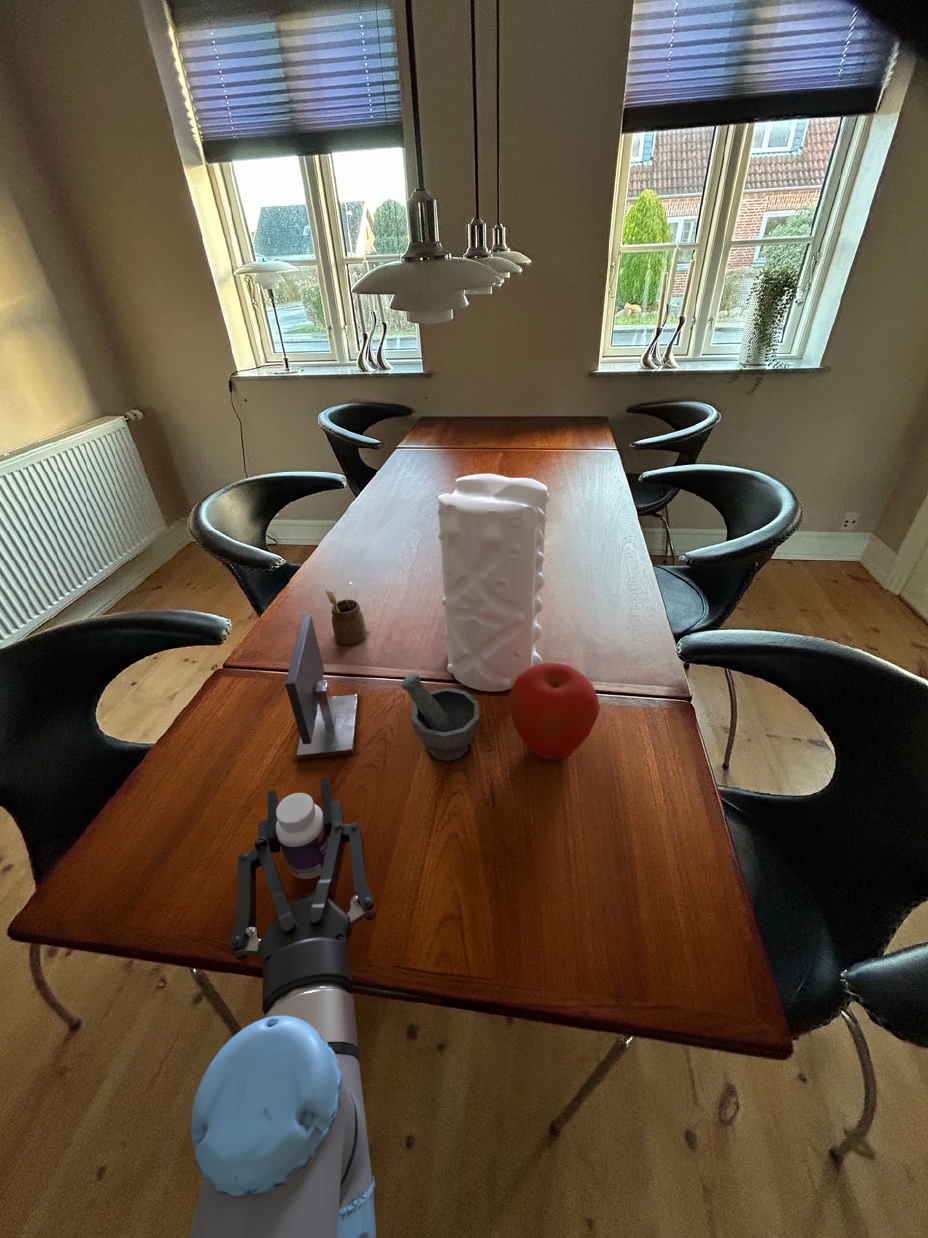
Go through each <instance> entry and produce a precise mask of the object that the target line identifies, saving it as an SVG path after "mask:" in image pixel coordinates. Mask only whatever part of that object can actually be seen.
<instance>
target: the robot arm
mask: <svg viewBox="0 0 928 1238" xmlns="http://www.w3.org/2000/svg"><path fill="white" fill-rule="evenodd" d="M320 787H321V798H322V811H323V814H324V824H325V827H326V831H327V834H328V837H329V841H328V845H327V850H326V854H325V859H324V863H323V868H322V872H321V875H320V877H319V880H318V881H317V883H316V887H315V892H314V893H310V894H308V895H306V896H304V897H303V898H293V899H290V900H289V899H288V896H287V893H286V890H285V888H284V884H283V882H282V878H281V876H280V872H279V870H278V867H277V864H276V862H275V861H276V860H275V858H274V856H273V854H276V853H280V852H281V846H280V843H279V841H278V838H277V835H276V823H277V820H278V819H277V816H276V810H277V807H278V805H279V803H280V801H279V797H278V795H277V793H276V790H275V789H273V790H269V791H268V792H267V819H264V820H260V821H259V823H258V827H257V839H256V840H255V841H254V847H255V848H254V849H253V850H251V851H244V852H241V853H240V854H239V856H238V859H237V862H238V863H237V884H236V885H237V889H236V920H235V921H236V923H235V925H234V928H233V930H232V933H231V936H230V938H229V941H228V946H229V948H230V950H231V951H232V953H233V955H234V957H235V958H236V959H237V960H238V961H244V960H246V959H247V958H248V956H259V957H260V959H261V960H262V964H263V966H262V998H261V999H262V1001H261V1002H262V1003H261V1005H262V1006H261V1009H262V1013H263V1014H264V1017H263V1018H261V1019H259V1020H256V1021H254V1022H252V1023H250V1024H248V1025H246V1026H245V1027H244V1028H242V1029H241V1030H239V1031H238V1032H237V1033H236V1034H234V1035H233V1036H232V1037H231V1038H230V1039H229V1040H228V1041H227V1042H226V1043H225V1044H224V1045H223V1046H222V1047H221V1048H220V1050H219V1051H218V1052H217V1053H216V1055H215V1057H213V1059H212V1061H211V1062H210V1064H209V1065H208V1067H207V1069H206V1071H205V1073H204V1074H203V1076H202V1078H201V1080H200V1083H199V1086H198V1088H197V1091H196V1094H195V1098H194V1102H193V1106H192V1111H191V1119H190V1120H191V1121H190V1132H191V1142H192V1147H193V1150H194V1156H195V1159H196V1161H197V1166H198V1170H199V1172H200V1173H201V1176H202V1180H201V1185H200V1190H199V1194H198V1199H197V1203H196V1206H195V1212H194V1215H193V1216H194V1217H193V1220H192V1226H191V1230H190V1234H189V1238H376V1237H377V1228H376V1226H377V1225H376V1214H375V1213H376V1211H375V1197H374V1193H375V1192H374V1191H375V1188H376V1182H375V1176H374V1175H373V1173H372V1165H371V1157H370V1149H369V1148H370V1147H369V1139H368V1129H367V1128H368V1127H367V1121H366V1111H365V1102H364V1095H363V1086H362V1077H361V1067H360V1052H359V1043H358V1042H359V1040H358V1032H357V1031H358V1030H357V1022H356V1021H357V1020H356V1012H355V1011H356V1010H355V999H354V997H353V995H352V991H353V977H352V968H351V959H350V947H349V942H350V937H351V935H352V932H353V927H354V926H356V925H357V924H359V923H360V922H362V921H364V920H367V921H373V920H374V919H375V918H376V917H377V909H376V905H375V901H374V897H373V896H372V894H371V892H370V890H369V885H368V877H367V876H368V875H367V867H366V858H365V848H364V847H365V846H364V838H363V834H362V830H361V827H360V824H359V822H351V823H350V824H346V823H345V820H344V812H343V808H342V804H341V802H340V801H339V800H337V801H333V795H332V790H331V786H330V783H329V779H328V777H321V778H320ZM348 843H349V852H350V864H351V865H350V866H351V875H352V877H351V878H352V885H353V886H352V887H353V891H354V894H355V895H353V896H352V898H351V899H350V902H349V903H350V909H349V911H348V912H346V911H344V909H342V908H341V907H340V905H338V904H336V900H337V895H336V894H337V890H338V889H337V888H338V882H339V877H340V873H341V867H342V863H343V858H344V857H343V856H344V852H345V847H346V844H348ZM259 867H261V868H262V871H263V875H264V878H265V881H266V884H267V888H268V890H269V894H270V896H271V901H272V904H273V906H274V910H275V913H276V915H275V916H274V917H273V919H272V921H271V923H270V924H269V925H268V927H267V929H266V930H265V932H264V933H263V935H262V936H261V938H260V934H259V931H258V930H257V869H258V868H259Z"/></svg>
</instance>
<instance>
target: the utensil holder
mask: <svg viewBox="0 0 928 1238" xmlns="http://www.w3.org/2000/svg"><path fill="white" fill-rule="evenodd" d="M347 585H349V582H347V583H346V585H344V586H343V588H344V594H347V588H348V586H347ZM351 585H352V586H356V585H355V583H354V582H351ZM353 591H354V592H353V594H354V595H355V597H357V596H358V595H357V594H358V591H357V589H356V587H353ZM325 594H326V596H327V598H328V600H329V602H330V604H332V606H331V615H332V616H331V625H332V629H333V634H334V638H335V640H336V641H337V643H339V644H340V645H345V646H346V645H347V646H350V645H355V644H357V643H360V642H361V641H363V640H364V638H365V637H366V633H367V632H366V631H367V630H366V623H365V618H364V615H363V614H364V613H363V612H362V611H361V607H360V604H359V602H358V601H357V598H353V599H348V598H347V596H343V598H344V599H341V600H339V601H337V599H336V597H335V595H334V593H333V592H332V591H329V590H327V589H326V590H325ZM349 594H352V592H351V586H349Z"/></svg>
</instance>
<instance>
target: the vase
mask: <svg viewBox="0 0 928 1238" xmlns="http://www.w3.org/2000/svg"><path fill="white" fill-rule="evenodd" d="M454 485H455V489H454V491H453V492H452V493H443V494H439V495H438V496H437V502H438V505H437V506H438V509H437V514H438V524H439V533H438V539H439V540H440V541H439V542H440V557H441V558H440V559H441V560H440V561H441V574H442V587H443V588H442V589H443V598H442V600H441V604H442V606H444V620H445V633H444V637H445V638H446V650H447V668H446V671H447V672H448V673H450V674H453V677H454V679H455V680H456V681H458V683H460V684H461V685H464V686H466V687H468V688H471V689H475V690H478V691H481V692H482V691H483V692H504V691H507V690H511V689H512V687H513V685H514V683H515V681H516V679H517V677H518V675H520V674H521V673H522V672H524V671H525V670H526V669H528V668H530V667H533V666H536V665H540V664H543V658H542V657H541V655H540V654H538V653H537V649H536V643H537V641H539V640H540V638H541V636H542V627H541V626H540V624H538V615H539V614H540V613H541V612H542V610H543V607H544V604H543V601H542V600H541V598H540V597H541V589H543V587H544V585H545V576H544V575H543V566H544V561H545V557H544V553H545V538H546V536H545V534H546V523H547V522H548V520H549V517H548V515H547V504H548V503H549V501H550V499H551V496H550V494H549V493H548V486H547V485H545V484H544V483H542V482H540V481H538V480H536V479H534V478H530V477H507V476H504V475H501V474H500V475H499V474H495V473H479V474H471V475H465V476H461V477H458V478H457V479H456V480H455V482H454Z"/></svg>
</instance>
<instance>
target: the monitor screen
mask: <svg viewBox="0 0 928 1238" xmlns="http://www.w3.org/2000/svg"><path fill="white" fill-rule="evenodd" d="M314 625H315V624H314V621H313V617H312V614H303V615H302V619H301V622H300V626H299V629H298V630H299V631H298V633H297V638H296V642H295V645H294V647H293V648H294V649H293V653H292V656H291V660H290V664H289V668H288V672H287V676H286V679H285V683H284V685H285V689H286V692H287V695H288V699H289V702H290V705H291V709H292V713H293V716H294V720H295V723H296V726H297V730H298V733H299V738H300V737H301V740H302V743H303V745H304V744H311V743H312V738H313V732H314V726H315V720H316V715H317V709H318V703H319V702H318V698H317V694H316V688H317V683H318V681H324V673H325V668H324V664H323V659H322V655H321V651H320V647H319V642H318V638H317V635H316V630H315V629H316V628H315V626H314Z"/></svg>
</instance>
